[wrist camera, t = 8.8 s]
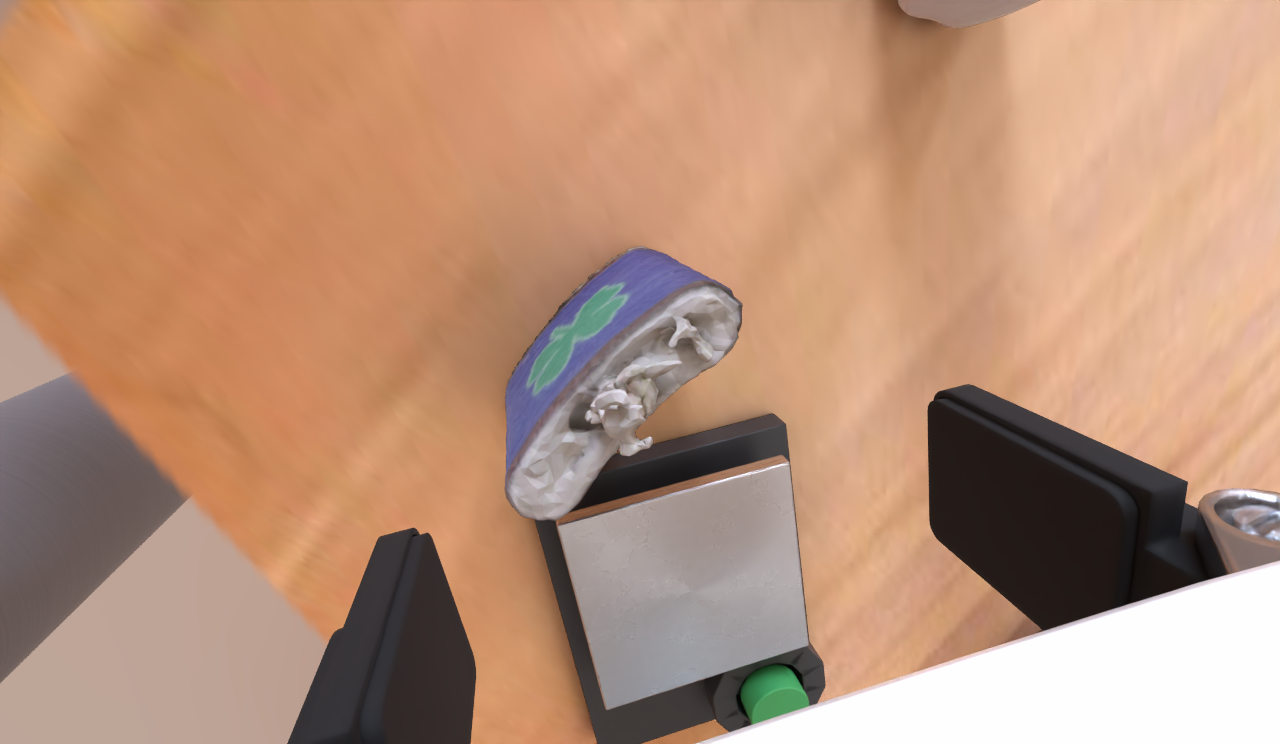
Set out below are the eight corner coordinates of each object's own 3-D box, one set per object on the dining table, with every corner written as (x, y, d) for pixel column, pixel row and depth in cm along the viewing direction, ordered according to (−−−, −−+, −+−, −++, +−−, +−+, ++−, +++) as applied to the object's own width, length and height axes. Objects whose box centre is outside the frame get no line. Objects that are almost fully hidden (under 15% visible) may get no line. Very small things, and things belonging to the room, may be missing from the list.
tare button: (743, 718, 30) (755, 745, 29) (736, 674, 29) (747, 699, 28) (798, 700, 31) (812, 726, 29) (792, 656, 30) (807, 680, 28)
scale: (599, 740, 32) (607, 792, 30) (525, 477, 27) (527, 511, 24) (803, 673, 34) (829, 717, 31) (773, 412, 29) (802, 437, 26)
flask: (536, 428, 26) (552, 577, 16) (484, 387, 25) (466, 518, 15) (681, 274, 26) (792, 331, 16) (633, 225, 25) (719, 252, 15)
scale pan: (603, 697, 28) (605, 711, 27) (554, 515, 24) (556, 525, 24) (802, 634, 29) (809, 646, 28) (782, 453, 26) (790, 461, 25)
